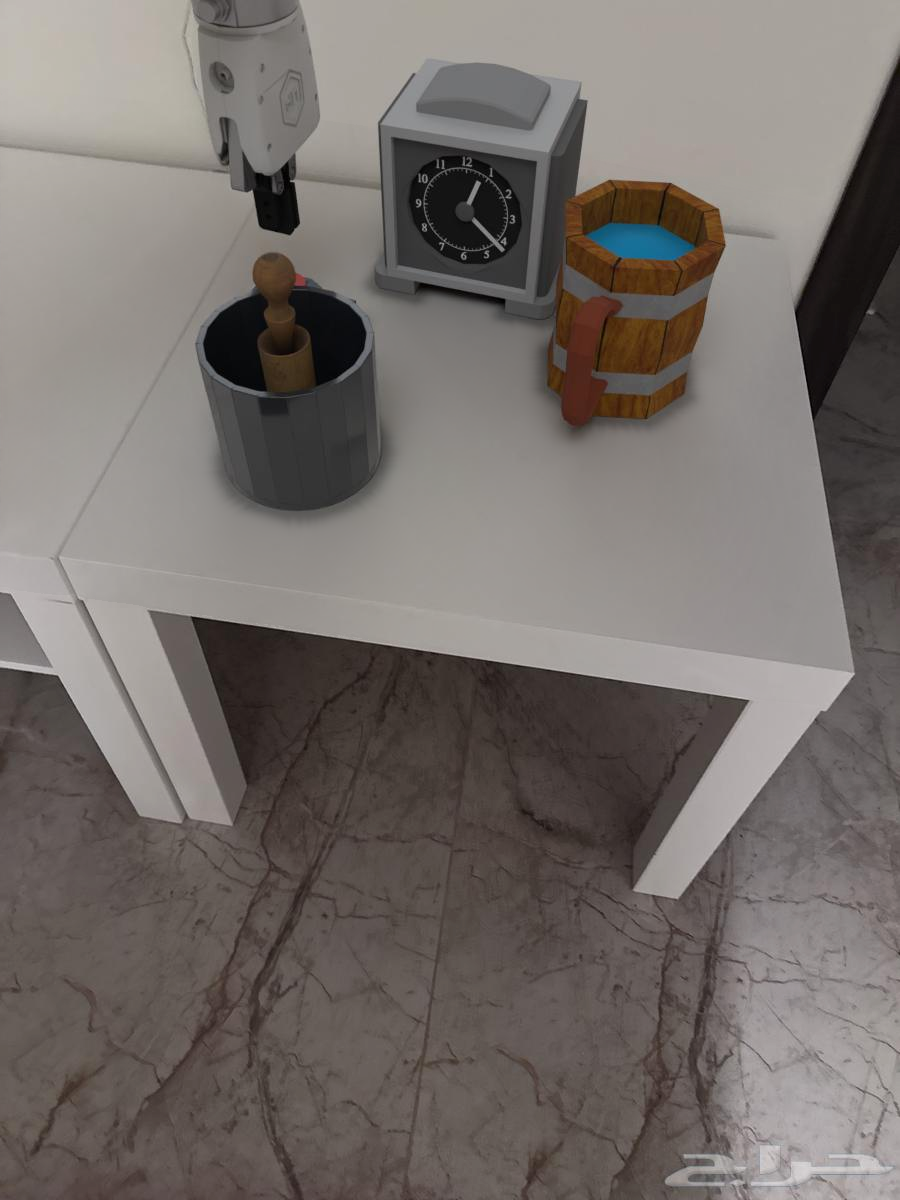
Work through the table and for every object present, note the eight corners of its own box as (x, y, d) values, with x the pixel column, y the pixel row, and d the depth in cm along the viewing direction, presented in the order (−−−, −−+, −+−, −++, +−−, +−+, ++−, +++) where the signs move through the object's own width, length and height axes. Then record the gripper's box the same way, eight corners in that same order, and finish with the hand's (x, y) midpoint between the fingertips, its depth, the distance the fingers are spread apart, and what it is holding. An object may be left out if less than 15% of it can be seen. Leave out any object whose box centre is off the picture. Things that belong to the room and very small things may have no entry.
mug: (574, 310, 91) (595, 162, 79) (706, 351, 88) (749, 203, 76) (490, 433, 81) (500, 285, 69) (636, 485, 77) (673, 338, 65)
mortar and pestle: (247, 460, 77) (205, 271, 63) (284, 411, 81) (252, 222, 66) (318, 483, 76) (292, 295, 61) (353, 432, 80) (335, 243, 65)
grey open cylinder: (196, 485, 77) (162, 371, 67) (268, 386, 84) (247, 270, 74) (342, 528, 74) (328, 416, 64) (403, 422, 82) (399, 307, 72)
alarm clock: (371, 286, 93) (360, 99, 79) (412, 216, 101) (409, 34, 86) (549, 321, 90) (571, 133, 76) (577, 247, 98) (603, 63, 83)
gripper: (241, 44, 61) (280, 286, 75) (335, -42, 69) (354, 191, 84) (141, 25, 62) (199, 266, 77) (245, -56, 70) (279, 175, 85)
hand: (279, 226), depth 80 cm, fingers closed
